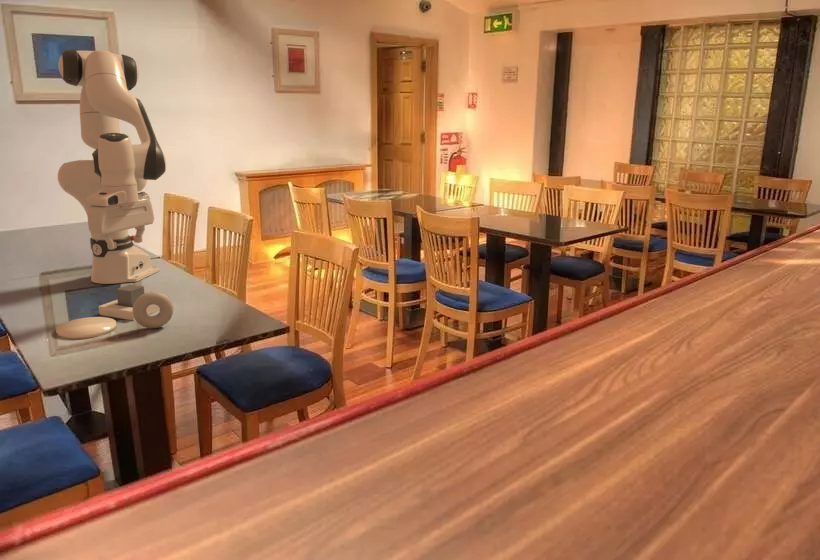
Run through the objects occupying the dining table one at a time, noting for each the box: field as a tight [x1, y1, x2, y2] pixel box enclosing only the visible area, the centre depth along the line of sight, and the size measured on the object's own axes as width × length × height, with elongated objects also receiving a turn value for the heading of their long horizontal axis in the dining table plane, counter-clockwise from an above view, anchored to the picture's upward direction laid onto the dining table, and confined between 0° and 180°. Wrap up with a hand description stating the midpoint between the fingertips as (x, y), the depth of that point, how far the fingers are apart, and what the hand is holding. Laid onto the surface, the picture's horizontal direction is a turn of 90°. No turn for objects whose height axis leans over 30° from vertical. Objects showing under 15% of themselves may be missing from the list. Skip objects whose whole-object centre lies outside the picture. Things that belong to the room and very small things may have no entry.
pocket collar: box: [98, 299, 160, 321], centre depth 180 cm, size 12×12×2 cm
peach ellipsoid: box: [55, 316, 117, 340], centre depth 165 cm, size 14×14×1 cm
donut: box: [132, 291, 174, 329], centre depth 166 cm, size 10×4×10 cm, turn 114°
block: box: [116, 284, 145, 307], centre depth 179 cm, size 5×5×7 cm
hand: (125, 245), depth 175 cm, fingers open, 8 cm apart
